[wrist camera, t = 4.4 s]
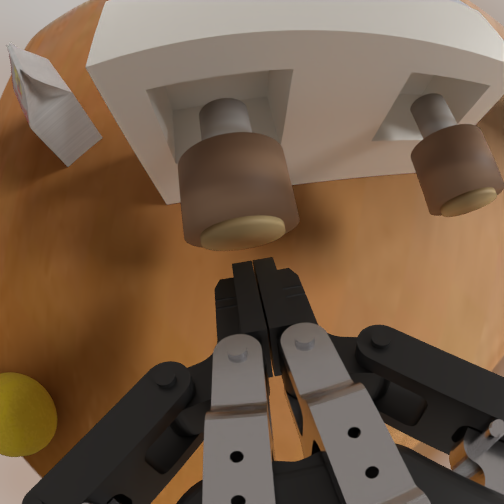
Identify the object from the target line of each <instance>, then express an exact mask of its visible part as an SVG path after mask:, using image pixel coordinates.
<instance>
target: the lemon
mask: <svg viewBox="0 0 504 504" xmlns="http://www.w3.org/2000/svg"><path fill="white" fill-rule="evenodd" d="M56 428H57V412H56V408H55V405H54V402H53V400H52V398H51V396H50V395H49V393H48V392H47V391H46V389H45V388H44V387H43V386H42V385H41V384H40V383H38V382H37V381H36V380H34V379H32V378H30V377H29V376H26V375H23V374H19V373H14V372H6V373H0V454H1V455H5V456H9V457H20V456H28V455H32V454H34V453H36V452H38V451H40V450H41V449H43V448H44V447H46V446H47V445H48V444H49V442H50V441H51V439H52V438H53V437H54V434H55V431H56Z"/></svg>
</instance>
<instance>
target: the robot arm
mask: <svg viewBox="0 0 504 504" xmlns="http://www.w3.org/2000/svg"><path fill="white" fill-rule="evenodd" d="M253 266H254V270H253ZM232 268H233V275H234V277H233V278H227V279H221V280H220V281H219V282H218V284H217V286H216V288H215V301H216V302H215V305H216V323H217V339H218V341H217V345H216V347H215V349H214V352H213V354H212V355H211V356H210V357H209V358H207V359H206V360H204V361H203V362H201V363H198V364H196V365H193V366H191V367H189V368H186V367H185V366H184V365H182V364H181V363H178V362H171V361H170V362H163V363H160V364H158V365H156V366H154V367H153V368H151V369H150V370H149V371H148V372H147V373H146V374H145V375H144V376H143V377H142V378H141V379H140V380H139V381H138V382H137V384H136V385H135V386H134V387H133V388H132V389H131V390H130V391H129V392H128V393H127V394H126V395H125V396H124V397H123V398H122V399H121V400H120V401H119V402H118V403H117V404H116V405H115V406H114V407H113V408H112V409H111V410H110V411H109V412H108V413H107V414H106V415H105V416H104V417H103V418H102V419H101V420H100V421H99V422H98V423H97V424H96V425H95V426H94V427H93V428H92V429H91V430H90V431H89V432H88V433H87V434H86V435H85V436H84V437H83V438H82V439H81V440H80V441H79V442H78V443H77V444H76V445H75V446H74V447H73V448H72V449H71V450H70V451H69V452H68V453H67V454H66V455H65V456H64V457H63V458H62V459H61V460H60V461H59V462H58V463H57V464H56V465H55V466H54V467H53V468H52V469H51V470H50V471H49V472H48V473H47V474H46V475H45V476H44V477H43V478H42V479H41V480H40V481H39V482H38V483H37V484H36V485H35V486H34V487H33V488H32V489H31V490H30V491H29V492H28V493H27V494H26V496H25V497H24V499H23V502H22V504H150V503H151V502H152V501H153V500H154V499H155V498H156V497H157V495H158V494H159V493H160V492H161V491H162V490H163V489H164V487H165V486H166V485H167V484H168V483H169V482H170V481H171V479H172V478H173V477H174V476H175V475H176V473H177V472H178V471H179V470H180V469H181V467H182V466H183V465H184V464H185V463H186V461H187V460H188V459H189V458H190V457H191V455H192V454H193V453H194V452H195V450H196V449H197V448H198V447H199V446H200V444H201V443H202V442H203V441H204V453H203V480H201V481H199V482H198V483H196V484H195V485H194V486H192V487H191V488H190V489H189V490H188V491H187V492H186V493H184V495H183V496H182V497H181V498H180V499H179V501H178V502H177V503H176V504H504V377H502V376H499V375H497V374H495V373H493V372H490V371H488V370H486V369H483V368H481V367H479V366H477V365H474V364H472V363H470V362H468V361H465V360H463V359H461V358H458V357H456V356H454V355H452V354H449V353H447V352H445V351H443V350H440V349H438V348H436V347H434V346H431V345H429V344H427V343H425V342H422V341H420V340H418V339H416V338H413V337H411V336H409V335H407V334H405V333H402V332H400V331H398V330H396V329H393V328H391V327H389V326H385V325H372V326H369V327H367V328H365V329H363V330H362V331H361V332H360V334H359V335H358V337H338V336H334V335H331V334H329V333H327V332H326V331H325V330H324V329H323V328H322V327H321V326H319V325H318V323H317V321H316V319H315V316H314V314H313V311H312V309H311V306H310V304H309V301H308V299H307V296H306V294H305V292H304V289H303V287H302V284H301V282H300V279H299V277H298V275H297V274H296V273H294V272H293V271H292V270H291V269H289V268H286V269H281V270H277V269H276V266H275V263H274V260H273V257H270V258H264V259H258V260H253V265H252V261H247V262H241V263H235V264H232ZM254 273H255V274H254ZM271 361H272V366H273V370H274V375H275V376H279V375H282V379H283V383H284V392H285V397H286V400H287V403H288V406H289V409H290V412H291V415H292V418H293V420H294V423H295V426H296V429H297V432H298V435H299V438H300V442H301V446H302V451H303V455H304V459H302V460H300V461H296V462H286V461H276V458H275V450H274V441H273V432H272V422H271V412H270V402H269V395H270V387H269V380H268V378H269V377H273V374H272V366H271ZM384 423H386V424H388V425H389V426H391V427H393V428H395V429H397V430H399V431H401V432H403V433H405V434H407V435H409V436H411V437H413V438H415V439H417V440H419V441H421V442H423V443H425V444H427V445H429V446H431V447H434V448H436V449H438V450H440V451H442V452H444V453H446V454H448V455H449V461H450V465H451V469H452V470H450V469H448V468H446V467H444V466H442V465H440V464H438V463H436V462H434V461H432V460H430V459H428V458H427V457H425V456H423V455H421V454H419V453H417V452H415V451H414V450H412V449H410V448H408V447H405V446H402V445H399V444H395V443H394V441H393V439H392V437H391V435H390V433H389V431H388V429H387V428H386V426H385V424H384Z"/></svg>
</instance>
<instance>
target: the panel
mask: <svg viewBox="0 0 504 504" xmlns="http://www.w3.org/2000/svg"><path fill="white" fill-rule="evenodd" d="M86 69H87V71H88V73H89V74H90V76H91V78H92V80H93V82H94V83H95V85H96V87H97V89H98V91H99V92H100V94H101V96H102V98H103V99H104V101H105V103H106V105H107V106H108V108H109V110H110V112H111V113H112V115H113V117H114V118H115V120H116V122H117V124H118V125H119V127H120V129H121V130H122V132H123V134H124V136H125V137H126V139H127V141H128V142H129V144H130V146H131V147H132V149H133V151H134V152H135V154H136V156H137V157H138V159H139V161H140V162H141V164H142V165H143V167H144V169H145V170H146V172H147V174H148V175H149V177H150V178H151V180H152V182H153V183H154V185H155V187H156V188H157V190H158V191H159V193H160V195H161V196H162V198H163V199H164V201H165V203H166V204H167V205H169V204H174V203H179V202H181V200H180V189H179V177H178V162H179V160H180V158H181V156H182V155H183V154H184V153H185V152H186V151H187V150H188V149H189V148H190V147H192V146H193V145H195V144H196V143H198V142H200V141H202V139H201V130H200V121H199V112H200V110H201V109H202V107H203V106H204V105H206V104H207V103H209V102H211V101H213V100H216V99H220V98H233V99H237V100H240V101H241V102H243V103H244V104H245V105H246V107H247V111H248V116H249V120H250V125H251V130H252V133H259V134H263V135H266V136H269V137H271V138H273V139H275V140H276V141H277V142H278V143H279V144H280V145H281V146H282V148H283V151H284V155H285V159H286V163H287V167H288V172H289V176H290V180H291V184H292V185H297V184H305V183H313V182H322V181H331V180H340V179H349V178H359V177H370V176H381V175H393V174H406V173H416V171H415V168H414V166H413V163H412V161H411V152H412V150H413V149H414V147H415V146H416V145H417V144H418V143H419V142H420V141H421V140H423V137H422V135H421V132H420V130H419V128H418V126H417V124H416V122H415V119H414V117H413V115H412V113H411V111H410V108H411V105H412V104H413V102H414V101H415V100H416V99H418V98H419V97H421V96H423V95H426V94H431V93H437V94H440V95H442V96H443V98H444V99H445V101H446V103H447V105H448V107H449V109H450V111H451V113H452V114H453V116H454V118H455V120H456V122H457V124H472V125H476V124H477V123H478V122H479V121H480V120H481V119H482V118H483V116H484V115H485V114H486V113H487V112H488V111H489V110H490V109H491V108H492V107H493V106H494V105H495V104H496V102H497V101H498V100H499V99H500V98H501V97H502V96H503V95H504V40H503V39H502V38H501V36H500V35H499V34H498V33H497V32H496V30H495V29H494V28H493V27H492V26H491V25H490V23H489V22H488V21H487V20H486V19H485V18H484V17H483V16H482V14H481V13H480V12H479V11H478V10H475V9H472V8H470V7H467V6H464V5H462V4H459V3H456V2H453V1H450V0H109V1H106V3H105V5H104V8H103V11H102V14H101V17H100V20H99V23H98V26H97V29H96V32H95V35H94V39H93V42H92V45H91V49H90V53H89V56H88V60H87V64H86Z"/></svg>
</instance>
